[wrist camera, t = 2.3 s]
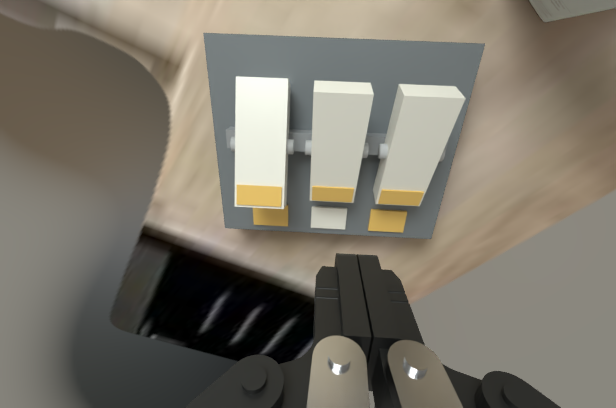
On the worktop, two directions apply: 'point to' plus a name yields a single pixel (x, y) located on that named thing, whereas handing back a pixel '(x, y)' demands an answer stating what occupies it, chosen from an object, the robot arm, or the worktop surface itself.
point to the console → (301, 73)
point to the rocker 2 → (415, 142)
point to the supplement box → (569, 8)
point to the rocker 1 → (261, 142)
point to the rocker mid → (338, 138)
